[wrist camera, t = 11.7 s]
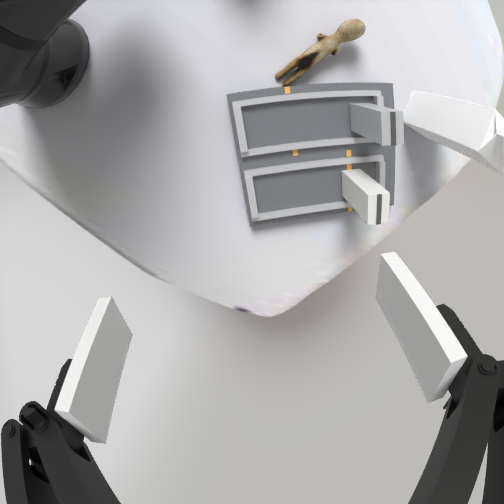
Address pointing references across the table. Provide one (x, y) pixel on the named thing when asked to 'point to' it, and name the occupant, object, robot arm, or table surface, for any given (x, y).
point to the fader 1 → (377, 123)
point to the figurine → (323, 49)
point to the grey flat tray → (305, 148)
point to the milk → (459, 126)
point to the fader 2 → (366, 196)
